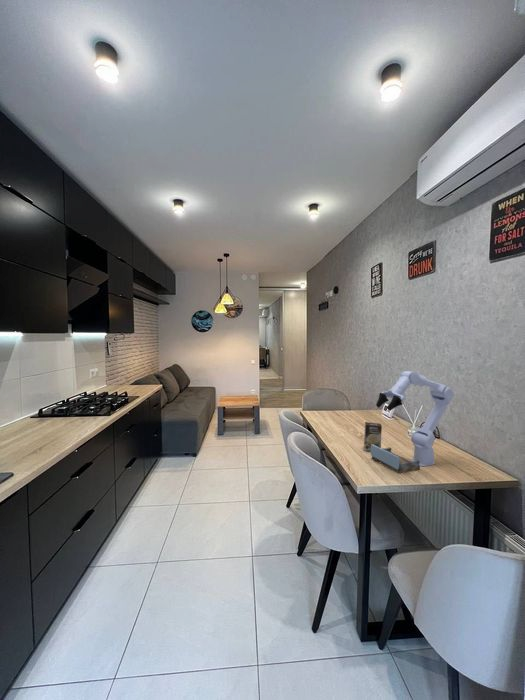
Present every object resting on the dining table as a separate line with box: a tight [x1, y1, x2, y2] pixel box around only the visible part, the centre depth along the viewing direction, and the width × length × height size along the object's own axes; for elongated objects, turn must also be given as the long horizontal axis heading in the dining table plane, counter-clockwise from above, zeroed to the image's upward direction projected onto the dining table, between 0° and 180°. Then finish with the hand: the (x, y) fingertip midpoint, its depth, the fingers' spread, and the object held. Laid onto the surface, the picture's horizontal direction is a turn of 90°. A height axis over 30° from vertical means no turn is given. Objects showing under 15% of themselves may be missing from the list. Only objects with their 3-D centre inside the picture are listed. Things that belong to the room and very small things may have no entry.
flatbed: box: [371, 447, 421, 474], centre depth 159 cm, size 13×20×4 cm, turn 21°
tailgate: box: [370, 444, 401, 469], centre depth 156 cm, size 1×19×6 cm, turn 21°
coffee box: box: [363, 421, 383, 453], centre depth 177 cm, size 9×6×16 cm
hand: (382, 407), depth 149 cm, fingers open, 7 cm apart
